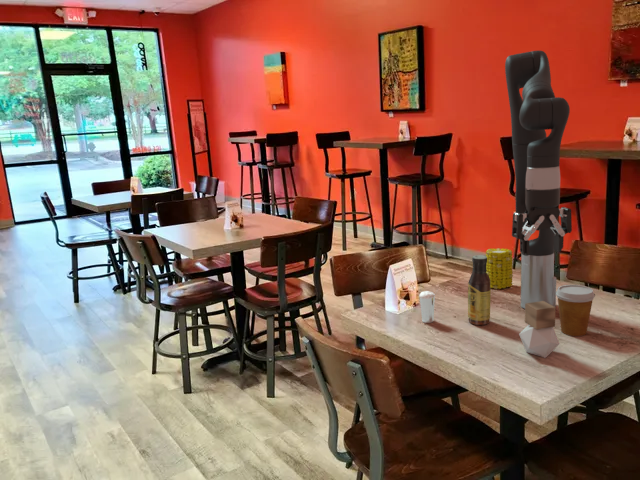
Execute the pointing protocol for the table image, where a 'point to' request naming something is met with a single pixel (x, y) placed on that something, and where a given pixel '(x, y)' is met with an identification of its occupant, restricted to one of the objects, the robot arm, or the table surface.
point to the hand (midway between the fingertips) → (541, 253)
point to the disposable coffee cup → (574, 308)
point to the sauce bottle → (479, 292)
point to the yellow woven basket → (499, 268)
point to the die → (539, 340)
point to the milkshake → (427, 306)
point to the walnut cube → (540, 315)
